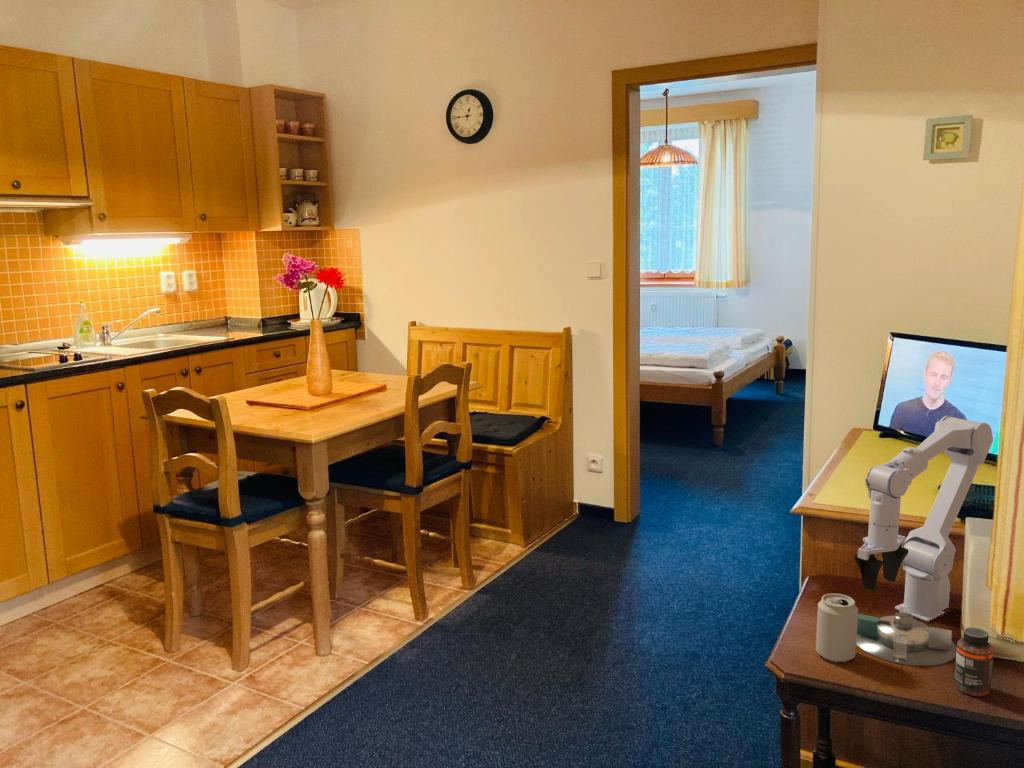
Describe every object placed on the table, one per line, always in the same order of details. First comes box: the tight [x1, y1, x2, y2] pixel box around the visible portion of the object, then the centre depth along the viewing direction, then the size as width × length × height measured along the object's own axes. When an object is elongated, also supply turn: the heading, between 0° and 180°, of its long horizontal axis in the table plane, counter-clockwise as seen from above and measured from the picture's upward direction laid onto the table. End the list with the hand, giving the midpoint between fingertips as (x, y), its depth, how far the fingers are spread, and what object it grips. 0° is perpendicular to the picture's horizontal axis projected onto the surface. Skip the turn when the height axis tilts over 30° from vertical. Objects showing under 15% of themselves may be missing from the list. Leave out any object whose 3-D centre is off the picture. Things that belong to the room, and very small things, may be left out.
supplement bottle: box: [954, 626, 995, 697], centre depth 155 cm, size 6×6×11 cm
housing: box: [856, 611, 957, 667], centre depth 174 cm, size 20×20×6 cm
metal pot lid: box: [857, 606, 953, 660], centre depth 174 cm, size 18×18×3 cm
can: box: [815, 593, 859, 663], centre depth 168 cm, size 8×8×12 cm
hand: (879, 584), depth 179 cm, fingers open, 7 cm apart
